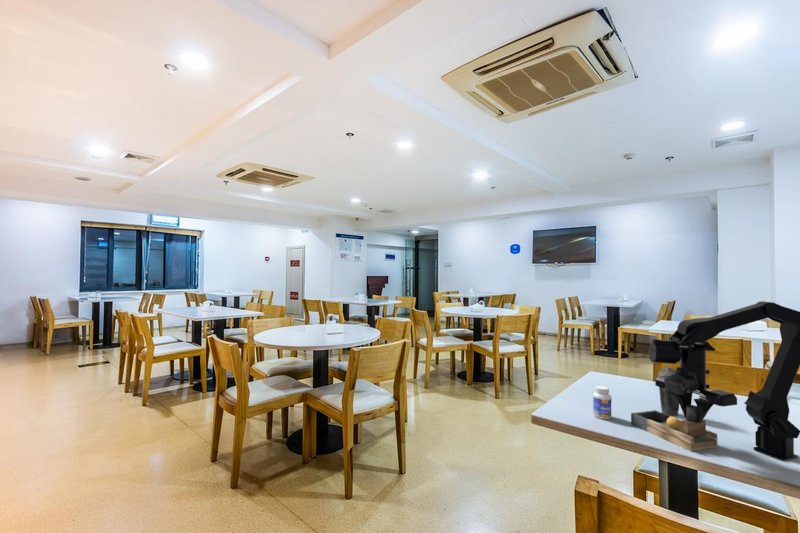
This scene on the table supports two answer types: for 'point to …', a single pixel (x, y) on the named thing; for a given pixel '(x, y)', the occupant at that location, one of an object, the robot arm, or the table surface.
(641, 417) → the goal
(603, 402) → the pill bottle
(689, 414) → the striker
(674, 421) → the ball
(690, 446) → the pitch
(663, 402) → the beverage cup
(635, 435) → the table surface
